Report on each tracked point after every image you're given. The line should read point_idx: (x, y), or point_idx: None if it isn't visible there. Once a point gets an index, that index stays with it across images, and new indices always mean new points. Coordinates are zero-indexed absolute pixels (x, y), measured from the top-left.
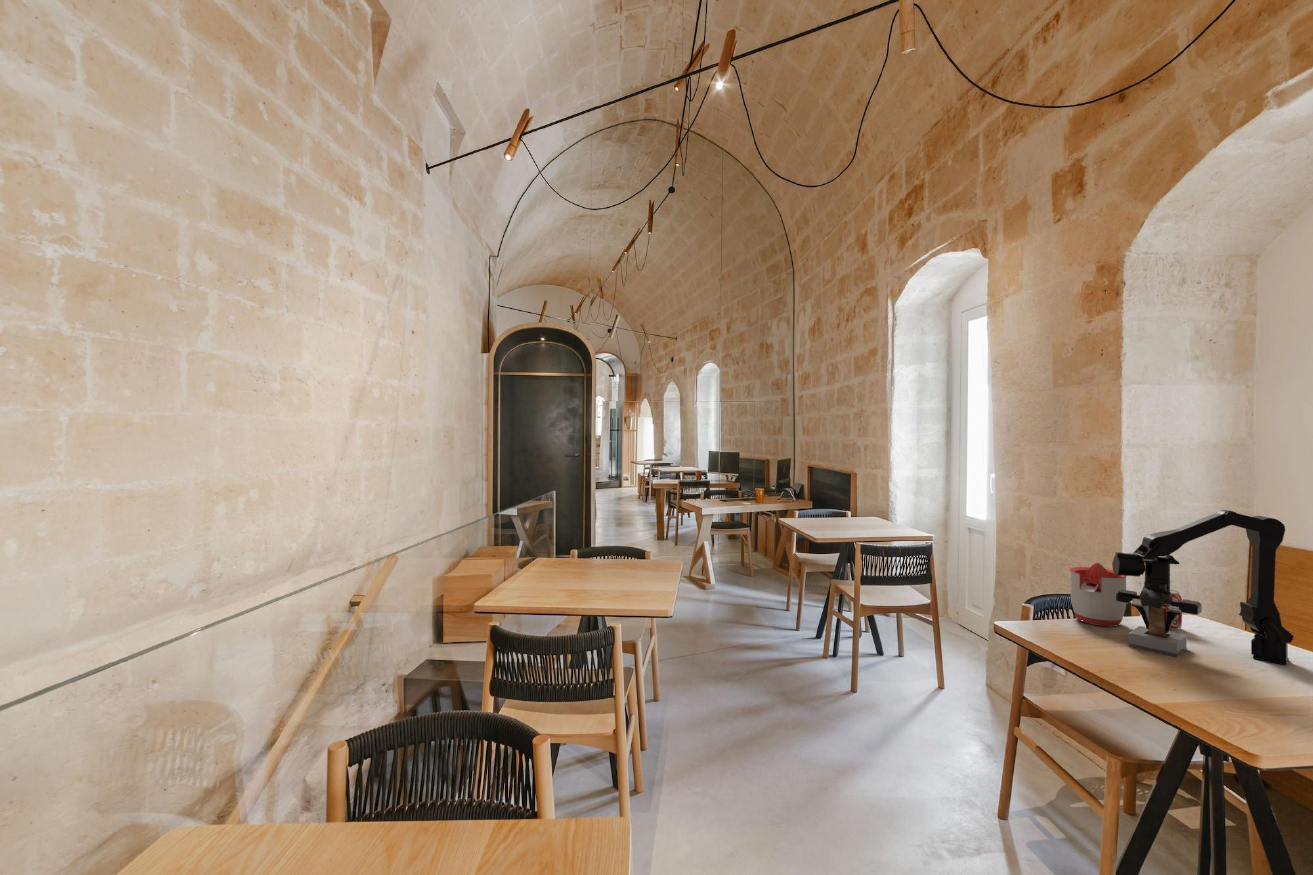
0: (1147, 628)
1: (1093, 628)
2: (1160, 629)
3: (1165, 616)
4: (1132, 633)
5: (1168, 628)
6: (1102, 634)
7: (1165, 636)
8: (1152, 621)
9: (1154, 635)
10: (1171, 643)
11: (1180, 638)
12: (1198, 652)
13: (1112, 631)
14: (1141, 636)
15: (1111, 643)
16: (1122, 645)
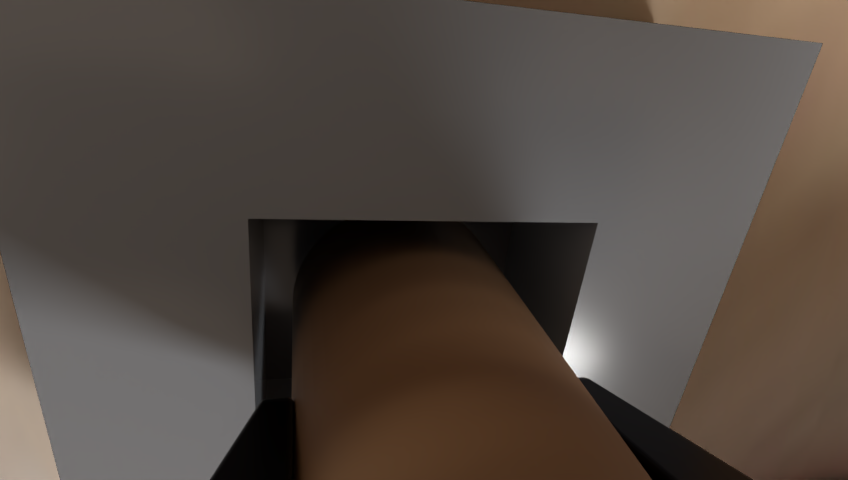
0: (580, 379)
1: (843, 412)
2: (378, 357)
3: None
4: (768, 60)
5: (224, 469)
6: (820, 300)
7: (296, 338)
8: (615, 469)
9: (447, 256)
10: None
11: (70, 404)
12: (13, 429)
13: (725, 448)
14: (632, 21)
15: (815, 8)
16: (714, 20)
